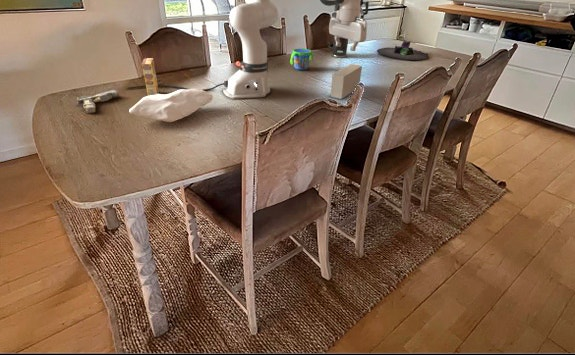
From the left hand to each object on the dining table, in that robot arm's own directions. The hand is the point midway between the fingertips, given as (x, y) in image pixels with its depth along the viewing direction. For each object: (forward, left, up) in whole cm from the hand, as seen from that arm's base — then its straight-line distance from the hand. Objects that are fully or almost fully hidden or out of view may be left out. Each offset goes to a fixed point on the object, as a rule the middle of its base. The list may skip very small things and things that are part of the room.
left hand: (345, 48), depth 164 cm
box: (+6, +4, -22) cm, 23 cm away
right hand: (+24, +29, +5) cm, 37 cm away
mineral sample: (+87, +53, -22) cm, 104 cm away
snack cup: (+4, +46, -22) cm, 51 cm away
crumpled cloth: (-78, +7, -22) cm, 81 cm away
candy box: (-81, +32, -22) cm, 90 cm away
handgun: (-103, +29, -22) cm, 109 cm away
